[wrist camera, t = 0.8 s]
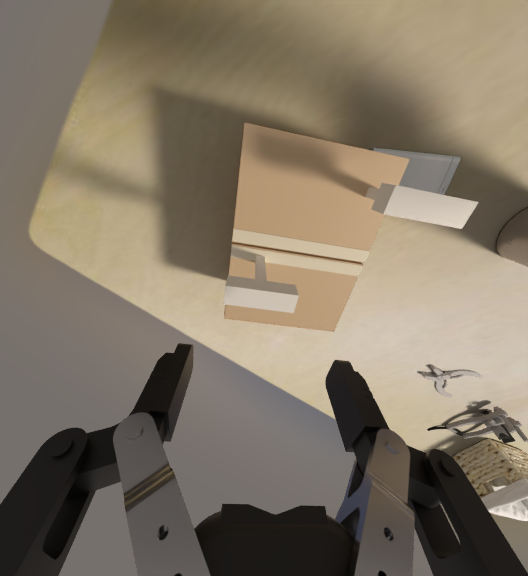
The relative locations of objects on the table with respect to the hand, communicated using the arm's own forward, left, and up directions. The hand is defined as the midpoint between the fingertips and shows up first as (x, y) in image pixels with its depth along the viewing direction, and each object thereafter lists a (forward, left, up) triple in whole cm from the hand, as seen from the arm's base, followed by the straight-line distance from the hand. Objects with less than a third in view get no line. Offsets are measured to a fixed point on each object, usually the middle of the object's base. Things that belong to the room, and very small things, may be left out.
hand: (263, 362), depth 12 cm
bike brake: (-72, +47, -26) cm, 90 cm away
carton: (-4, -1, -26) cm, 26 cm away
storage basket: (-92, +64, -26) cm, 115 cm away
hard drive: (-19, -10, -26) cm, 35 cm away
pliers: (-52, +29, -26) cm, 65 cm away
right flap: (-4, +4, -16) cm, 17 cm away
